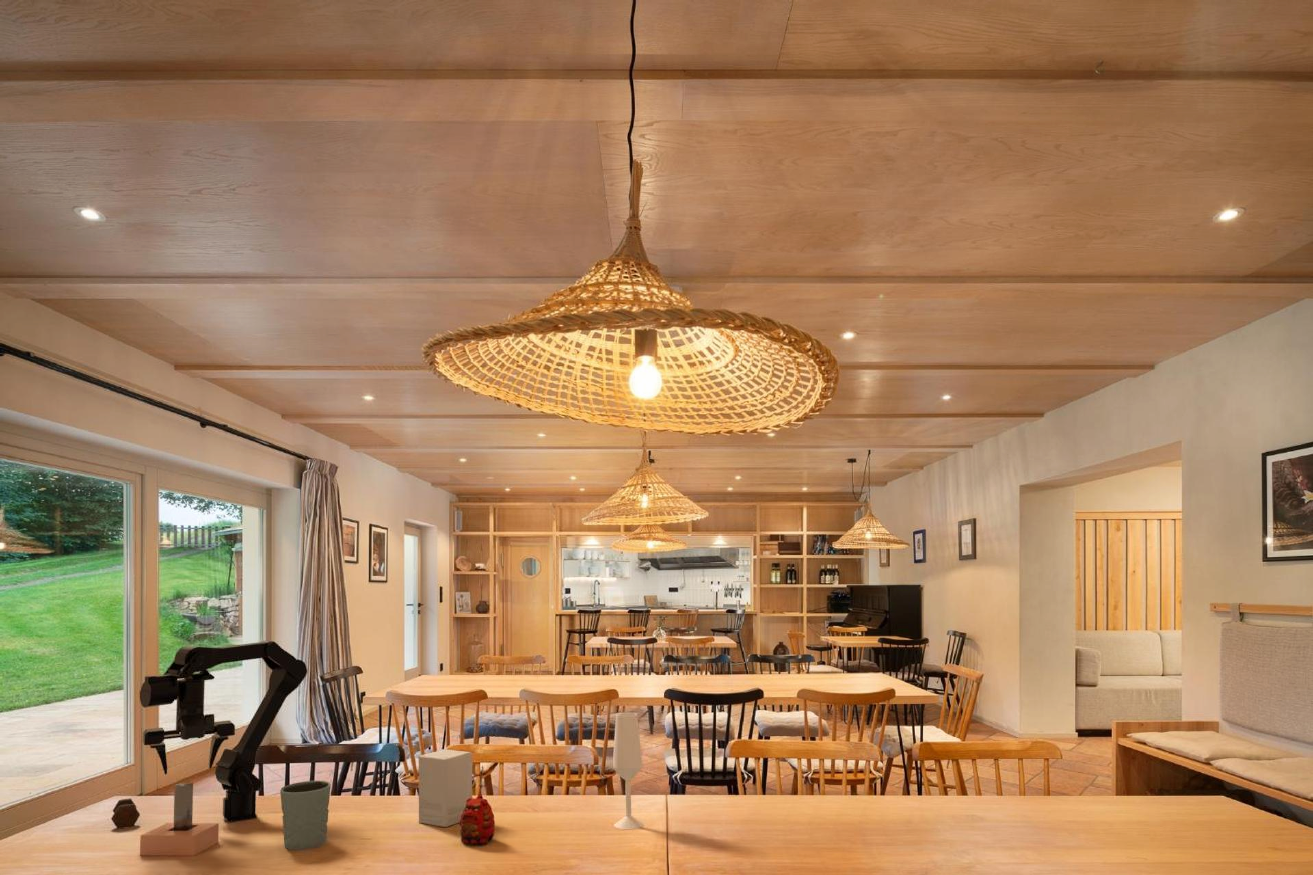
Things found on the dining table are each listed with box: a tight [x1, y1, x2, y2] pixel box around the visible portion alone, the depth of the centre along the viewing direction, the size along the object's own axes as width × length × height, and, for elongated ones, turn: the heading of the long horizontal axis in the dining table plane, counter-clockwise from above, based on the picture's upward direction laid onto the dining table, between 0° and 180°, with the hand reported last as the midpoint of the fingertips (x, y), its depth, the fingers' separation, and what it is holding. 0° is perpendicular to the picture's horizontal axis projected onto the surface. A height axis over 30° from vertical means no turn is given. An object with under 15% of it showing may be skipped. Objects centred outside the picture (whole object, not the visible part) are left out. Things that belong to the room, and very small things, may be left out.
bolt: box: [111, 798, 141, 829], centre depth 227 cm, size 6×5×15 cm
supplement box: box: [418, 748, 473, 828], centre depth 220 cm, size 9×9×15 cm
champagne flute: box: [612, 712, 645, 830], centre depth 213 cm, size 7×7×24 cm
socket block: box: [139, 822, 220, 857], centre depth 203 cm, size 9×12×4 cm
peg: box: [173, 781, 194, 831], centre depth 204 cm, size 4×4×13 cm
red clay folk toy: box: [459, 765, 496, 846], centre depth 203 cm, size 8×7×15 cm
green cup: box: [279, 780, 332, 851], centre depth 204 cm, size 10×10×12 cm
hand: (188, 771), depth 218 cm, fingers open, 9 cm apart
